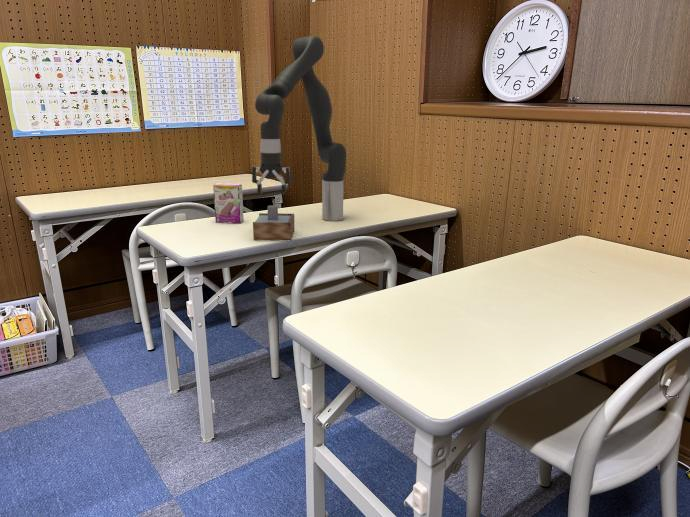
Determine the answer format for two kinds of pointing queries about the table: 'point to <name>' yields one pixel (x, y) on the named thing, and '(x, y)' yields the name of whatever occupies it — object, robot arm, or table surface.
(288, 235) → the wooden box
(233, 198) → the candy bar box
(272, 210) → the lid
